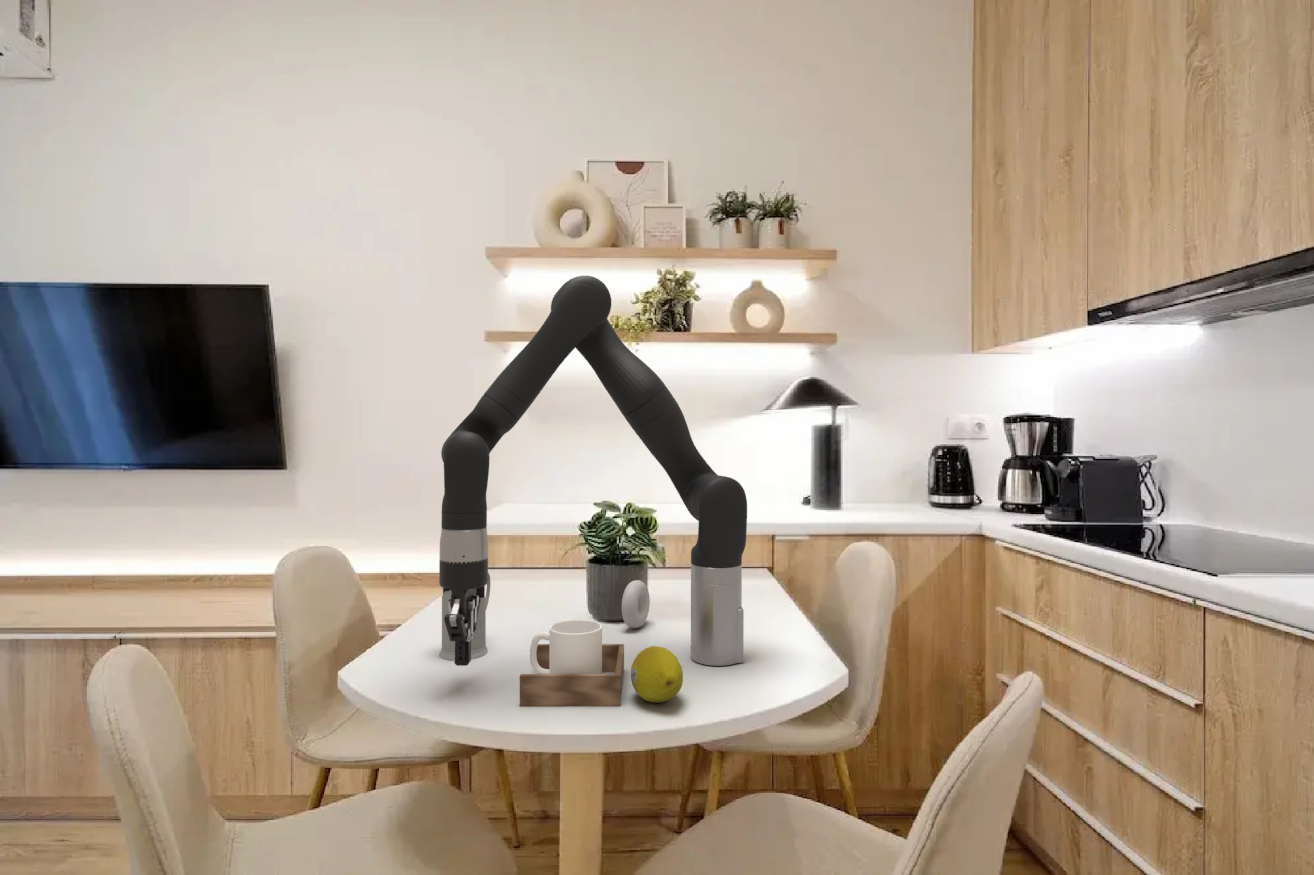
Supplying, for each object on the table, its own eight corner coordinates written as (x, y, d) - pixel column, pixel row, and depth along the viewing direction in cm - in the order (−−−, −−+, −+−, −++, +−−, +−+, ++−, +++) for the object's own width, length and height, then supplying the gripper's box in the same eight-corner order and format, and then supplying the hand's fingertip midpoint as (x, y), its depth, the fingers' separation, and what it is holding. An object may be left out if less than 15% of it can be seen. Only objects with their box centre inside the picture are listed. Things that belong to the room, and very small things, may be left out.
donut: (637, 621, 149) (637, 575, 149) (652, 622, 148) (652, 576, 148) (618, 633, 140) (618, 584, 140) (633, 635, 138) (634, 585, 138)
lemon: (627, 689, 108) (627, 639, 108) (675, 687, 110) (676, 637, 110) (635, 717, 98) (635, 661, 98) (688, 714, 99) (688, 659, 99)
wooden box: (624, 670, 117) (624, 644, 117) (620, 705, 102) (620, 675, 102) (536, 670, 117) (537, 644, 117) (519, 706, 102) (519, 675, 102)
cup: (591, 702, 103) (591, 635, 103) (518, 695, 106) (518, 630, 106) (608, 683, 111) (608, 621, 111) (540, 677, 114) (540, 616, 114)
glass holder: (429, 658, 123) (429, 575, 123) (469, 636, 137) (469, 562, 137) (473, 662, 121) (473, 578, 121) (509, 639, 135) (509, 564, 135)
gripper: (477, 563, 103) (476, 678, 103) (496, 549, 116) (495, 651, 116) (427, 563, 102) (426, 678, 102) (452, 549, 116) (451, 651, 116)
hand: (463, 663), depth 109 cm, fingers closed
